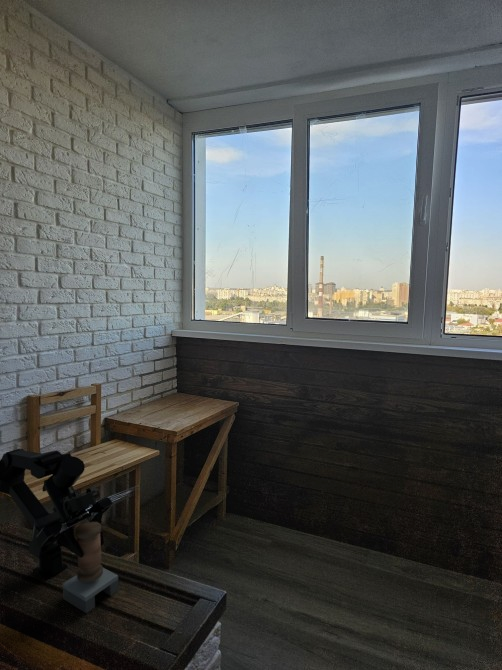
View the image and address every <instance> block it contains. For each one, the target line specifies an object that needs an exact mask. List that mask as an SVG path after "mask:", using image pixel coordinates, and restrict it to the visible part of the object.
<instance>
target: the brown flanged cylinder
mask: <svg viewBox="0 0 502 670" xmlns="http://www.w3.org/2000/svg"><path fill="white" fill-rule="evenodd" d="M101 524H102V523H101ZM101 524H100V523H98V522H89V521H87V522H84V523H81V524H78V526H77V527H76V528H75V529H74V533H75V535H74V537H75V538H76V540H77V542H78V544H79V546H80V547H81V549H82V552H83V554H84V556H83V557H82V558H80V557H79V556H77V567H78V570H77V571H76V575H77V578H78V580H79V581H81V582H91V581H94V580H96V579H98V578H99V577H101V575H102V574H103V568H104V567H103V565H102V564H101V563H102V546H101V539H100V532H101Z"/></svg>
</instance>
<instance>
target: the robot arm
mask: <svg viewBox="0 0 502 670" xmlns="http://www.w3.org/2000/svg"><path fill="white" fill-rule="evenodd" d="M85 468H86V466H85V463H84V461H83V460H81V458H79V457H77V456H72V454H71V453H70V452H67V453H65V454H62V453H61V452H60V451H59V450H52V451H51V450H50V451H45V452H42V453H40V452H34V451H31V450H24V449H23V448H17V449H13V450H9V451H6V452H5V453H3V454H2V456H1V458H0V493H1V494H6V495H8V496H9V497H10V498H11V499H12V501H13V502H14V503H15V505H16V507H17V508H18V509H19V510H20V512H21V513H22V514H23V516H24V517H25V519H26V520H27V521H28V523H29V524H30V525H31V527H32V529H33V530H32V539H31V540H30V542H29V543H28V545H27V546H28V551H29V553H30V554H31V555H32V556H34V557H35V558H37V565H38V566H37V567H36V568H34V569H32V573H34V574H35V575H36V576H39V577H40V578H42V579H43V580H46V581H47V580H49V579H51V578H52V577H54V576H55V575H57V574H59V573H61V572H62V571H64V570H66V569H68V564H67V563H64V562H63V554H62V552H63V551H62V547H63V548H65V549H67V550H68V551H70V552H72V553H73V554H74V555H76V556H77V557H78V556H79V557H80V558H82V557H83V556H84V554H83V552H82V549H81V547H80V546H79V544H78V542H77V538H76V536H75V535H74V529H73V526H75V525H77V524H78V525H79V523H82V522H83V521H86V520H87V522H98V523H100V524H101V532H100V539H101V547H102V546H104V544H105V541H104V535H103V527H102V520H103V516H104V515H105V514H106V513H107V512H108V511H109V510H110V509H111V508H112V507H113V505H114V502H113V501H112V499H111V498H110V497H107V496H105V497H103V498H101V499H98V498H100V496H101V494H100V490H99V489H98V487H97V486H96V485H93V486H90V487H88V488H86V490H85V493H83V494H82V493H81V491H79V490H75V488H74V487H73V486H74V485H75V484H76V483H77V481H78V480H79V478H80V477H81V476H82V474H83V473H84V472H85ZM26 470H27V471H30V475H31V476H33V477H34V478H35V479H38V480H39V479H40V480H41V479H44V478H46V477H48V478H47V479H44V480H43V485H42V489H41V491H42V492H43V493H44V492H46V493H47V495H48V497H49V498H50V500H51V502H52V504H53V506H54V507H53V508H52V511H53V512H51V513H49V512H48V510H47V508H46V507H45V506H44V505H43V504H42V503H41V501H40V500H39V498H38V497H37V496H36V495H35V493H34V492H33V491H32V490H31V488H30V487H29V486H28V484H27V483H26V481H25V474H26ZM97 499H98V500H97ZM96 500H97V501H96ZM90 506H91V507H90ZM88 508H89V509H88Z"/></svg>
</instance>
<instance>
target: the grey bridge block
mask: <svg viewBox="0 0 502 670" xmlns="http://www.w3.org/2000/svg"><path fill="white" fill-rule="evenodd" d="M119 590H120V589H119V575H117V574H116V573H114V572H112V571H110V570H108V569H106V568H105V567H103V574H102V575H101V577H99V578H98V579H96V580H94V581H91V582H81V581H79V580H78V578H77V574H75V576H72V577H71V578H69V579H68V580H66V581H64V582H63V583H62V594H63V595H62V597H63V600H64V601H66V602H68V603H69V604H71V605H72V606H74V607H76V609H78V610H80V611H81V612H83V613H85V614H88V613H90V611H92V610H94V608H96V599H95V598H96V596H97V595H98V594H99V593H100V592H103V593H105V594H107V595H108V596H110V597H111V596H113V595H114V594H116V593H117V592H119Z"/></svg>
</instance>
